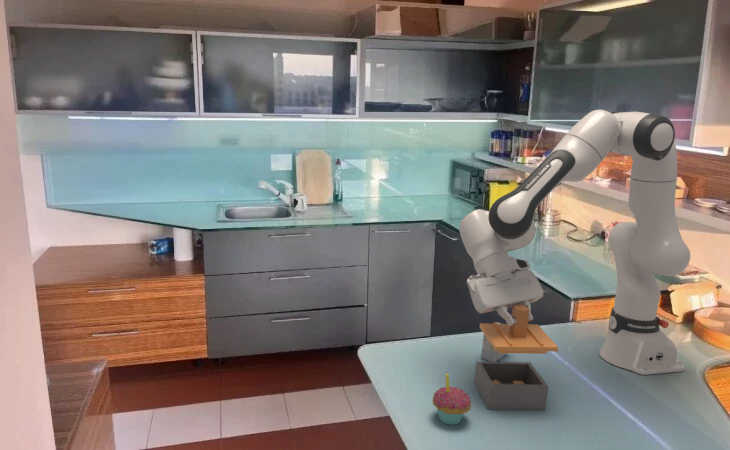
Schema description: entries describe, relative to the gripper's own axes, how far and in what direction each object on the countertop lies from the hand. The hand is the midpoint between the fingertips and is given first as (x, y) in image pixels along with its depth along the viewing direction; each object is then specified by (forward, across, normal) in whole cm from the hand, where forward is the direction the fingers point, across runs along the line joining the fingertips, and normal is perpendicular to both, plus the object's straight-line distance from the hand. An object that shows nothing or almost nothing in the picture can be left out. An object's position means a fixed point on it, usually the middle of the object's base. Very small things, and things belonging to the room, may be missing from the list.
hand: (521, 322), depth 135 cm
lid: (+4, 0, +5) cm, 6 cm away
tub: (+13, 0, +14) cm, 20 cm away
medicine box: (+1, +12, +27) cm, 29 cm away
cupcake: (+14, -20, +14) cm, 28 cm away
